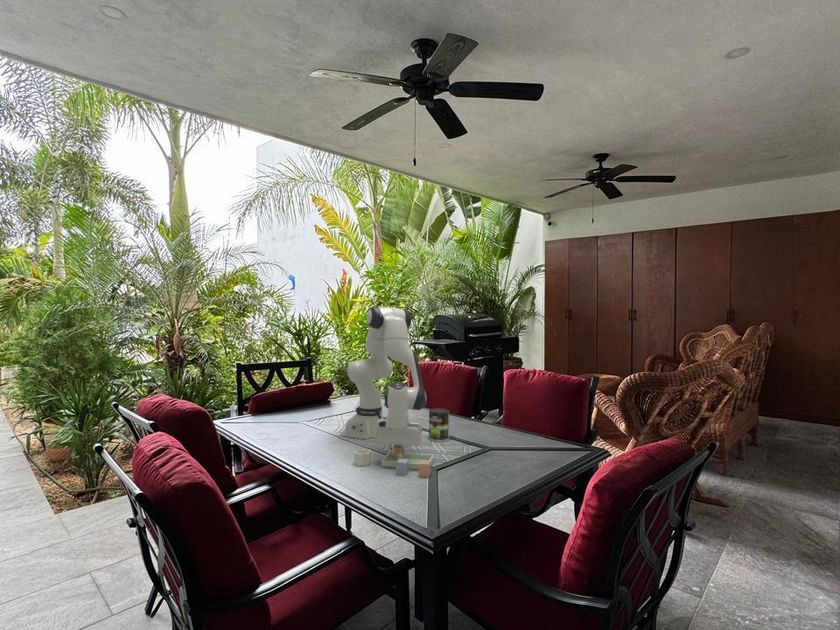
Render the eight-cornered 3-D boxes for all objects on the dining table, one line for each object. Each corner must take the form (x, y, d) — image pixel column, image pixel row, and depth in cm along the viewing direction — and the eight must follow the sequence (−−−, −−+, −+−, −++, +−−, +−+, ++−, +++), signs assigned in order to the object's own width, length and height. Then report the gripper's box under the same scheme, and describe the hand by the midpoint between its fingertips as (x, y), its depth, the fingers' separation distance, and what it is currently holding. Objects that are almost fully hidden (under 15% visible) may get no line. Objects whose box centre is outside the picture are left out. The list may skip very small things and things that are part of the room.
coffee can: (444, 442, 212) (444, 413, 212) (425, 439, 217) (425, 411, 217) (452, 437, 221) (452, 409, 221) (434, 434, 226) (434, 407, 226)
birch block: (392, 459, 183) (392, 447, 183) (394, 456, 187) (394, 444, 187) (401, 460, 182) (401, 448, 182) (403, 457, 186) (403, 445, 186)
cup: (352, 465, 182) (352, 453, 182) (358, 459, 188) (358, 448, 188) (367, 466, 180) (367, 454, 180) (372, 461, 187) (372, 449, 187)
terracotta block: (418, 476, 170) (418, 463, 170) (420, 472, 174) (420, 460, 174) (428, 477, 169) (428, 464, 169) (430, 473, 173) (430, 461, 173)
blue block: (396, 474, 172) (396, 462, 172) (398, 470, 176) (398, 458, 176) (406, 475, 171) (406, 462, 171) (408, 471, 175) (408, 459, 175)
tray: (381, 467, 180) (381, 461, 180) (389, 457, 191) (389, 451, 191) (429, 471, 176) (429, 464, 175) (434, 460, 187) (434, 454, 187)
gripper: (423, 421, 185) (423, 453, 185) (377, 418, 189) (377, 450, 189) (420, 425, 179) (420, 458, 179) (372, 422, 183) (372, 455, 183)
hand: (397, 454), depth 184 cm, fingers closed on birch block, 4 cm apart
